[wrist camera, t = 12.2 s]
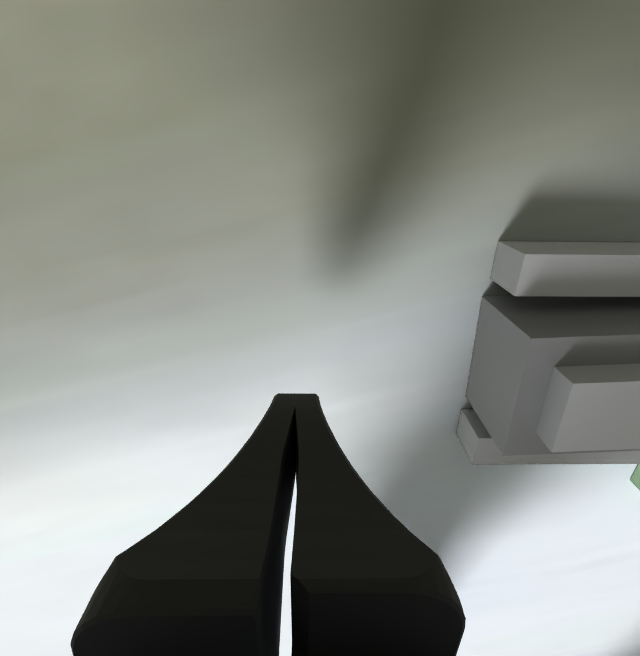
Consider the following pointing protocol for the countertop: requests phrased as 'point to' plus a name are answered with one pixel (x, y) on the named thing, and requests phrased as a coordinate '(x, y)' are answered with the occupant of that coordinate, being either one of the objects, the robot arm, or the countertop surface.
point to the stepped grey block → (557, 373)
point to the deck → (557, 280)
